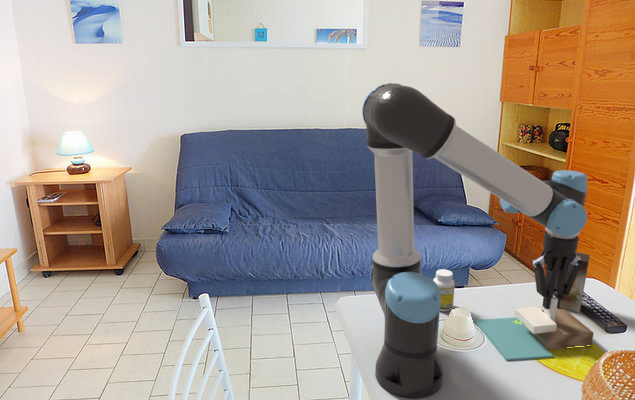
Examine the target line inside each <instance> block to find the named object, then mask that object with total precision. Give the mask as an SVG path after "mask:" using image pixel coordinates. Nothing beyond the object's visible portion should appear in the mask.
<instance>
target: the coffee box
mask: <svg viewBox="0 0 635 400" xmlns="http://www.w3.org/2000/svg"><path fill="white" fill-rule="evenodd" d="M575 253H576V257H578V258H579V259H581V260H583V261H584V264H583V265H582V267H581V268H580V269H579V271H578V274H577V276H576V279H575V281H574V284H573V286H572V288H571V291H570V293H569V295H567V296H566V295H564V296H563V297H564V299H563V300H560V306H559V308H558V309H565V310H567V311H568V312H570V311H571V312H574V313H579V314H580V311H581V306H582V302H583V296H584V291H585V284H586V280H587V275H588V268H589V263H590V257H591V256H590V254H588V253H582V252H577V251H576V252H575ZM565 289H566V288H565Z"/></svg>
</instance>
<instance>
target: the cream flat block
mask: <svg viewBox="0 0 635 400" xmlns="http://www.w3.org/2000/svg"><path fill="white" fill-rule="evenodd" d="M541 310H542V309H541V308H539V307H538V306H529V307H519V308H515V311H514V316H515V317H516V318H517V319H518V320H519V321H520V322H521V323H523V324H524V325H525V326H526V327H527V328H528V329H529V330H530V331H531V332H532V333H533V334H536V333H545V332H554V331H556V327H557V324H556V323H555V322H554V321H553V320H552V319H550V318H549V317H548V316H547V315H546V314H545V313H544V312H543V311H541Z"/></svg>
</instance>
